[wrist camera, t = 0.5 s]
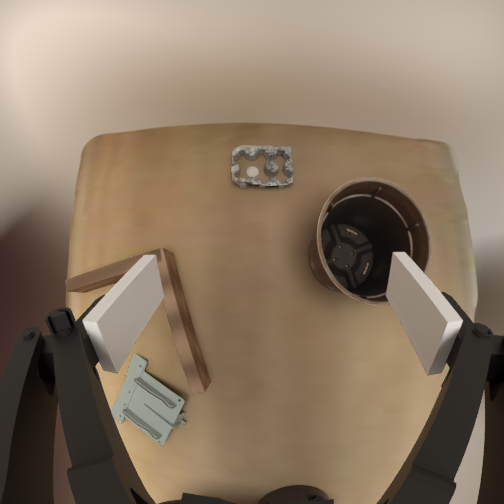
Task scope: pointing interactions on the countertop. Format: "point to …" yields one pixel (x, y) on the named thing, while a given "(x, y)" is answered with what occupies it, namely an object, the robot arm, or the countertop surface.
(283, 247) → the countertop surface
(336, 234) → the plant pot
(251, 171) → the egg carton
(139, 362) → the metal bracket
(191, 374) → the wooden corner frame
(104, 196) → the countertop surface
